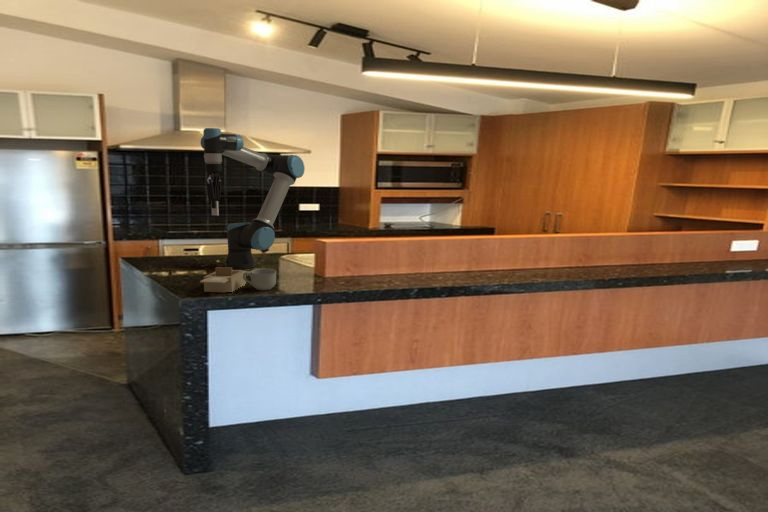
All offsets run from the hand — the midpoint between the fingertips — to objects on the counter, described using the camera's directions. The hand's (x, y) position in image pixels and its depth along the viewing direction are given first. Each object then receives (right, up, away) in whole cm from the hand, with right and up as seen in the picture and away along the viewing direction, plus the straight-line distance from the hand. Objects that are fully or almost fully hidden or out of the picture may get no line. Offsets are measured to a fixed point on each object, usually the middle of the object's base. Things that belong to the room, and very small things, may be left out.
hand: (215, 215), depth 242 cm
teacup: (+24, -33, -16) cm, 44 cm away
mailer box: (+9, -32, -15) cm, 37 cm away
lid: (+9, -28, -23) cm, 37 cm away
